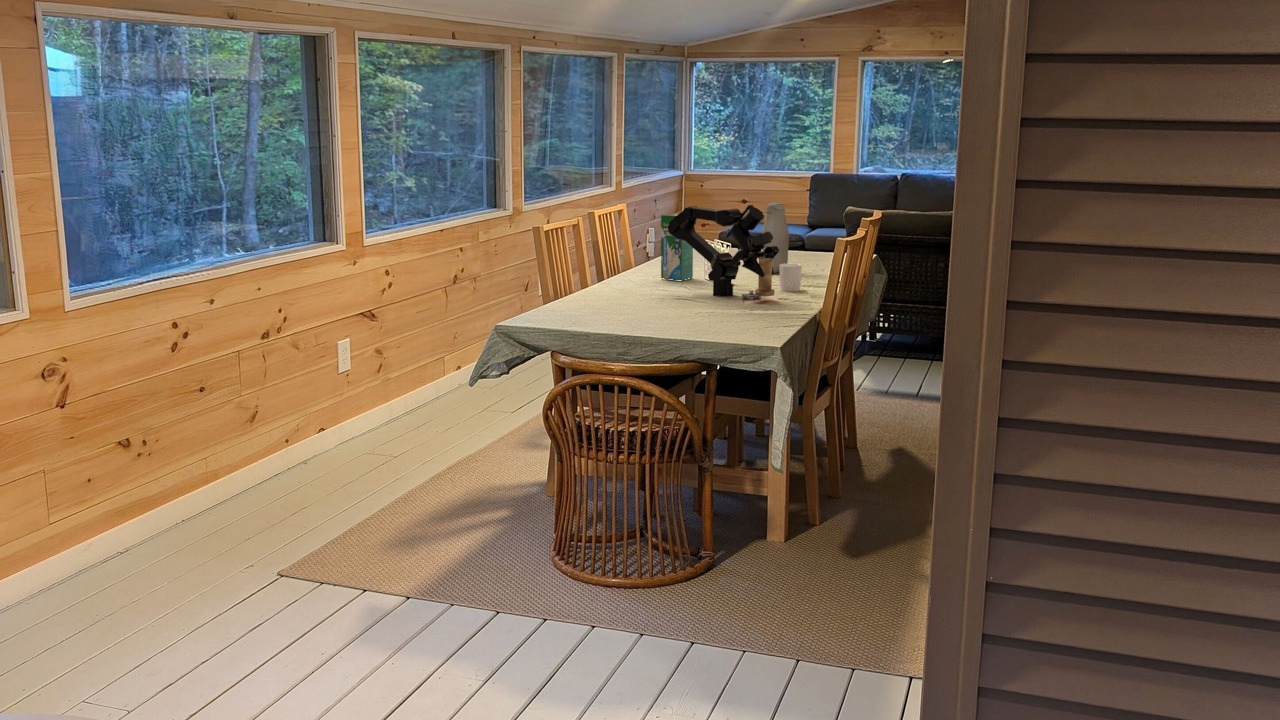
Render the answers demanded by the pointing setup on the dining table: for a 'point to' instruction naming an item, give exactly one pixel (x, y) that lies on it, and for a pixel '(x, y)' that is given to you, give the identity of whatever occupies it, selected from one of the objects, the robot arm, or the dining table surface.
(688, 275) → the milk carton
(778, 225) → the grey bottle
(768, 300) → the gear board
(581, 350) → the dining table surface
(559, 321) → the dining table surface
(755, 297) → the metal gear
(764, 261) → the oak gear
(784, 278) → the white cup
